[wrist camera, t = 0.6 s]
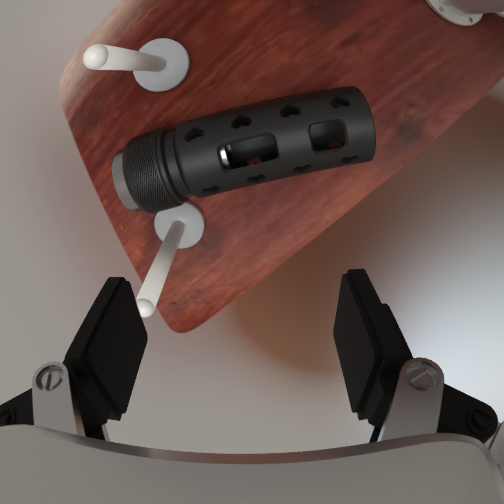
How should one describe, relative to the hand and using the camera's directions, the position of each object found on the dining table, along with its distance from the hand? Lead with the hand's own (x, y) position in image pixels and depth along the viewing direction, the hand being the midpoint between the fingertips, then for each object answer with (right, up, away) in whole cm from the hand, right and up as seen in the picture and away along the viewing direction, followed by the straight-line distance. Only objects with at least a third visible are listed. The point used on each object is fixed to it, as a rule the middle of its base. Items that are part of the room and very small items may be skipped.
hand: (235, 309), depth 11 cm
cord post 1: (-10, +25, +22) cm, 35 cm away
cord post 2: (-10, +6, +33) cm, 35 cm away
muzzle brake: (-1, +16, +28) cm, 32 cm away
